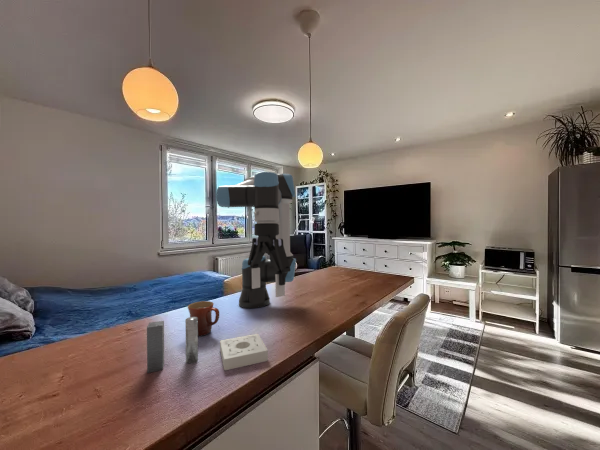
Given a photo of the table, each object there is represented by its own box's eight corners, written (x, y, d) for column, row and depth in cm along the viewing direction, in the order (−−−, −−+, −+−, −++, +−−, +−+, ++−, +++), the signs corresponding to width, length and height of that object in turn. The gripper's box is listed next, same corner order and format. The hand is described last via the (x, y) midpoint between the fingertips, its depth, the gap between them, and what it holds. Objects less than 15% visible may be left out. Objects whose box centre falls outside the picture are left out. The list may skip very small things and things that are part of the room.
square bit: (149, 366, 69) (149, 322, 69) (164, 363, 70) (163, 320, 70) (147, 373, 65) (146, 327, 66) (162, 369, 67) (162, 325, 67)
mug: (182, 336, 87) (181, 307, 87) (199, 326, 96) (199, 300, 96) (210, 341, 83) (210, 310, 83) (226, 330, 92) (225, 303, 92)
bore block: (220, 350, 77) (220, 340, 77) (258, 342, 82) (258, 333, 82) (224, 370, 66) (224, 359, 66) (267, 360, 71) (267, 350, 71)
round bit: (186, 359, 72) (185, 317, 72) (197, 356, 73) (197, 316, 73) (185, 364, 69) (185, 321, 69) (198, 362, 70) (197, 319, 70)
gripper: (237, 223, 84) (237, 286, 83) (280, 221, 65) (281, 303, 64) (256, 223, 89) (257, 283, 88) (302, 221, 70) (303, 297, 69)
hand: (267, 291), depth 76 cm, fingers open, 13 cm apart
